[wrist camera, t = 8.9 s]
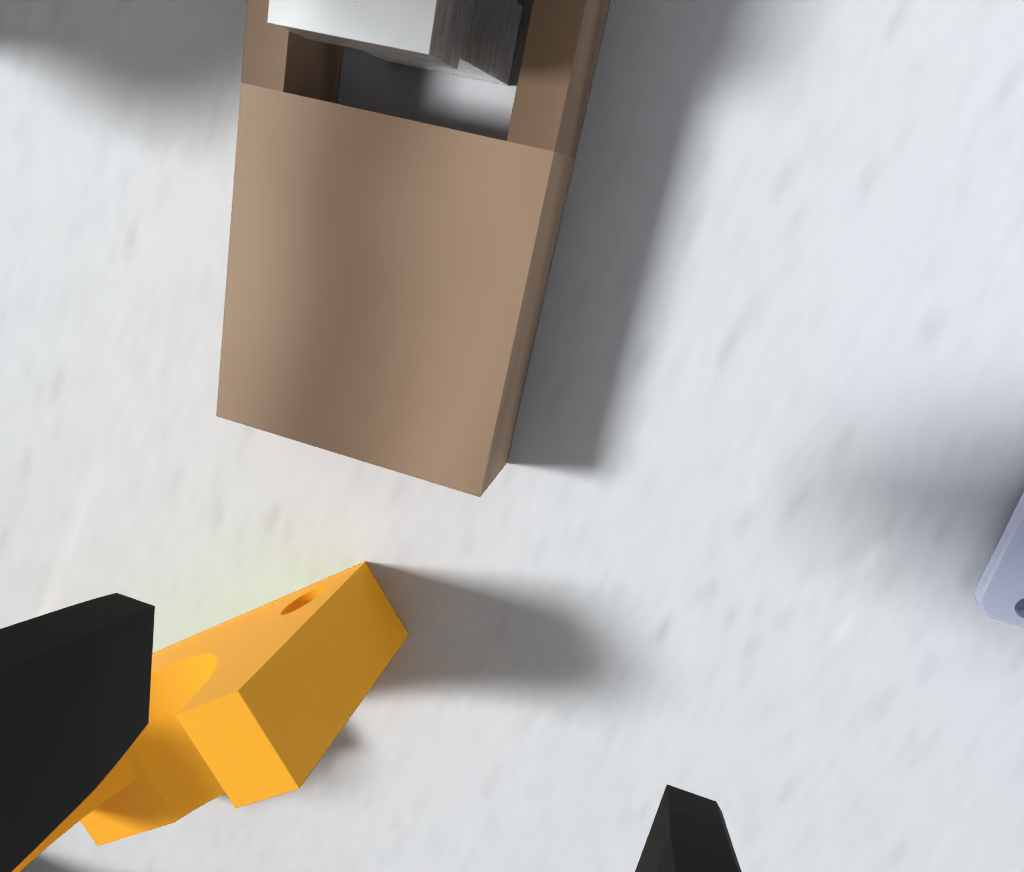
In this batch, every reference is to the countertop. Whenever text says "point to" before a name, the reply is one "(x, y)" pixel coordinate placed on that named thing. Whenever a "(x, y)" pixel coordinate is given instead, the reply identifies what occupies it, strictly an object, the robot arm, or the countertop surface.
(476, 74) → the brushed aluminum block
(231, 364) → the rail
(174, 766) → the orange saddle block
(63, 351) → the countertop surface
